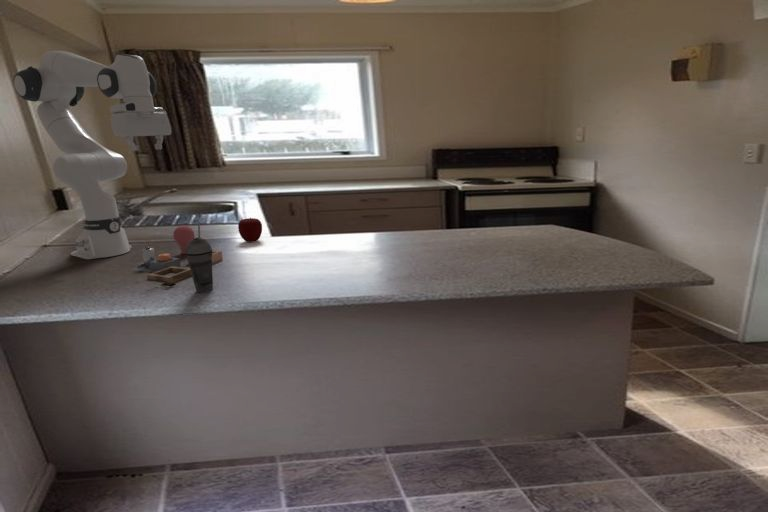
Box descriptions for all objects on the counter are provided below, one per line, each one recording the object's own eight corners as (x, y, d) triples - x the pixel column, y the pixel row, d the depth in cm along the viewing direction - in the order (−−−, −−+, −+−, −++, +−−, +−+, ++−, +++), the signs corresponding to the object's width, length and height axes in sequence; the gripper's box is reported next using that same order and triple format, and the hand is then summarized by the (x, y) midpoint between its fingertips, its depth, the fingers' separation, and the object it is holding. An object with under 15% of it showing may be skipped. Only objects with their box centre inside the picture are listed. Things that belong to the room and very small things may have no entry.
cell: (142, 267, 154) (139, 248, 152) (151, 264, 157) (148, 245, 155) (150, 268, 153) (146, 249, 151) (159, 265, 156) (155, 246, 154)
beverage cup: (195, 286, 137) (185, 221, 131) (220, 285, 137) (211, 219, 132) (187, 295, 130) (176, 226, 124) (214, 293, 130) (203, 224, 125)
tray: (148, 283, 141) (147, 274, 141) (173, 274, 150) (171, 266, 149) (170, 286, 138) (169, 277, 137) (194, 277, 146) (193, 268, 145)
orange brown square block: (188, 267, 156) (186, 255, 155) (205, 261, 164) (204, 249, 162) (206, 270, 153) (204, 257, 152) (223, 263, 160) (221, 251, 159)
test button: (156, 262, 151) (155, 255, 150) (165, 259, 154) (164, 253, 153) (164, 263, 149) (163, 256, 149) (173, 260, 152) (172, 253, 152)
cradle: (131, 273, 152) (129, 261, 151) (156, 265, 161) (154, 253, 160) (162, 277, 147) (159, 265, 146) (186, 268, 156) (184, 256, 154)
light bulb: (190, 259, 167) (185, 227, 164) (173, 259, 168) (167, 227, 165) (201, 254, 174) (196, 223, 170) (184, 254, 175) (179, 223, 172)
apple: (260, 243, 187) (257, 219, 184) (236, 244, 187) (233, 220, 184) (266, 238, 196) (263, 215, 193) (244, 239, 196) (241, 216, 193)
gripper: (158, 108, 160) (165, 148, 164) (104, 106, 142) (113, 152, 146) (171, 107, 158) (178, 148, 161) (118, 105, 140) (127, 151, 143)
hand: (147, 150), depth 153 cm, fingers open, 8 cm apart
